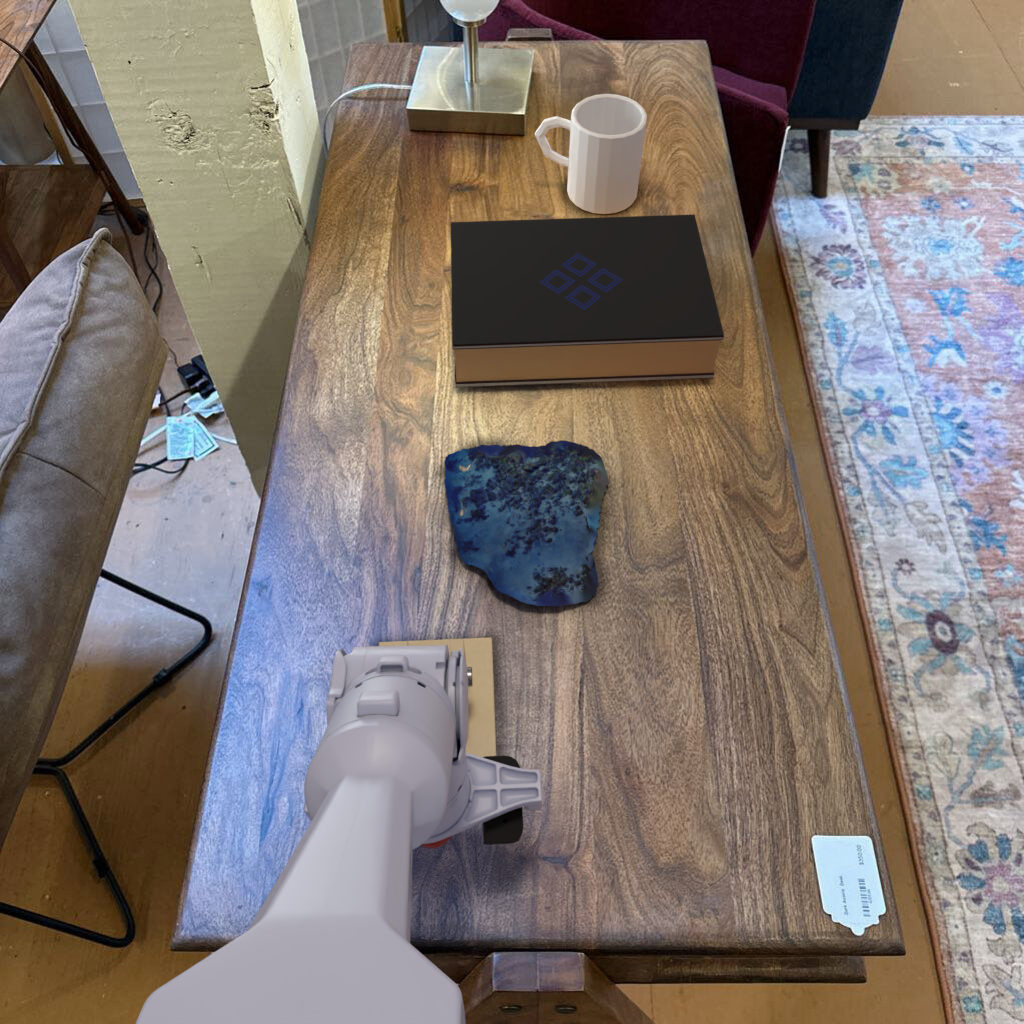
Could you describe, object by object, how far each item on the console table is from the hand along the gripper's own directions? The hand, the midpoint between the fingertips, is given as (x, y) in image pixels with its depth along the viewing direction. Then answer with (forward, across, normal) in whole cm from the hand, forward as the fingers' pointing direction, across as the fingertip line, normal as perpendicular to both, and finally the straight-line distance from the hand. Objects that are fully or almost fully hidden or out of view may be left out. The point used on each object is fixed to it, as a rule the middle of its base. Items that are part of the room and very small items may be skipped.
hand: (434, 831), depth 64 cm
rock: (+2, -8, -26) cm, 28 cm away
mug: (+2, -17, -73) cm, 75 cm away
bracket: (+2, 0, -10) cm, 10 cm away
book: (+2, -14, -51) cm, 53 cm away
